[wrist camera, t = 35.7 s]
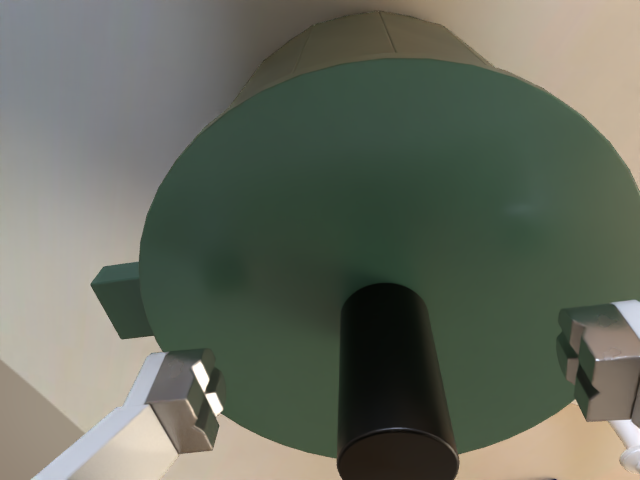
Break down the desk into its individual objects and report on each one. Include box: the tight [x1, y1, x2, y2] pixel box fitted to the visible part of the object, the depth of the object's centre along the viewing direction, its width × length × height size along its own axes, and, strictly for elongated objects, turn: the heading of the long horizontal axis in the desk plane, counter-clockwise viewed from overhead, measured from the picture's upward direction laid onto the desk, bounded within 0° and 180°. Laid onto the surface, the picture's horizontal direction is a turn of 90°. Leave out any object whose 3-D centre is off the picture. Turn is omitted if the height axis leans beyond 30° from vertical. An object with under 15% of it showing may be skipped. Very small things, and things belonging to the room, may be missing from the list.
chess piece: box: [571, 399, 640, 474], centre depth 23 cm, size 5×5×10 cm
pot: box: [91, 11, 494, 339], centre depth 17 cm, size 12×18×10 cm
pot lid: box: [138, 53, 640, 480], centre depth 12 cm, size 14×14×6 cm
